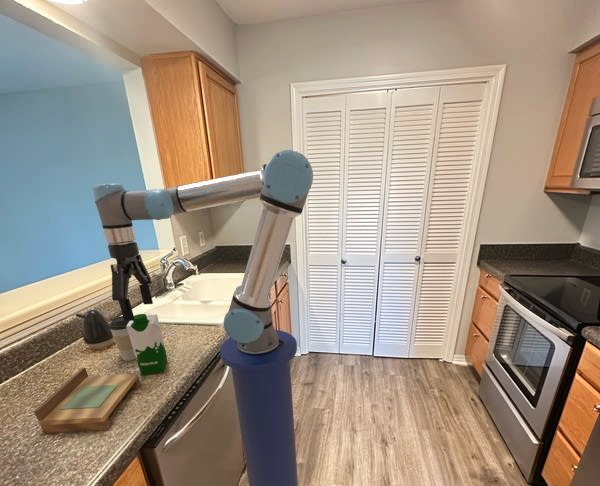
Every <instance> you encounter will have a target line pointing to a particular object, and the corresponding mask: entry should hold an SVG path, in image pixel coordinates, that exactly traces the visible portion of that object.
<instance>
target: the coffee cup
mask: <svg viewBox="0 0 600 486" xmlns="http://www.w3.org/2000/svg"><path fill="white" fill-rule="evenodd" d="M109 323H110V324H109V328H110V329H111V332H112V335H113V338H114V343H115V345H116V348H117V350H118V351H119V353H120V356H121V359H122V360H123V361H134V360H136V357H135V354H134V350H133V347H132V343H131V340H130V336H129V333H128V330H127V327H126V326H127V324H128V323H129V321H124V318H123V315H120V316H116V317H114V318H113V319H111V322H109Z"/></svg>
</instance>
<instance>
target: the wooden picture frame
mask: <svg viewBox="0 0 600 486" xmlns="http://www.w3.org/2000/svg"><path fill="white" fill-rule="evenodd" d="M140 386H141V381H140V377H139V374H138V373H120V374H101V375H99V374H98V375H89V373H88V371H87V368H86V367H81V368H80V369H78V371H77V372H76V373H74V374H73V375H72V376H71V377H69V379H68V380H66V382H64V383H63V384H62V385H61V386H60V387H59V388H58V389H56V390H55V392H53V393H52V394H51V395H50V396H48V397H47V399H45V400H44V401H43V402H42V403H41V404H40V405H39V406H38V407H36V409H34V410H33V413H34V415H35V417H36V419H37V421H38V424H39V426H40V428H41V430H42V432H43V434H52V433H53V434H54V433H55V434H56V433H71V432H72V433H75V432H90V431H91V432H93V431H107V430H108V429H109V428H110V426H111V421H110V418H109V416H110V415H111V414H112V412H113V411H114V410H115V409H116V408H117V406H118V404H119V403H120V402H121V401H122V400H123V398H124V397H125V396H126V395H127V393H128V392H129V390H130V389H138V388H139V387H140Z"/></svg>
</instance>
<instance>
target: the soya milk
mask: <svg viewBox="0 0 600 486" xmlns="http://www.w3.org/2000/svg"><path fill="white" fill-rule="evenodd" d="M134 319H135V320H134V321H129V323H128V324H127V326H126V327H127V330H128V333H129V336H130V340H131V343H132V347H133V350H134V354H135V357H136V359H135V360H136V364H137V366H138V370H139V372H140V375H141V376H142V377H143V376H149V375H150V376H151V375H156V374H157V375H158V374H164V373H165V371H166V368H167V364H168V356H167V350H166V346H165V342H164V337H163V333H162V330H161V324H160V321H159V317H158V314H157V313H156V314H155V313H154V314H146V313H139V314H135V315H134Z"/></svg>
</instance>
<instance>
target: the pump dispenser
mask: <svg viewBox="0 0 600 486" xmlns="http://www.w3.org/2000/svg"><path fill="white" fill-rule="evenodd" d="M75 317H77V318H81V319H82V324H81V325H82V326H81V331H82V338H83V342H84V343H85V344H86V345H87V346H88V347H89V348H90V349H93V350H104V349H106V348H108V347H110V346H111V345H112V344H113V343H114V342H115V340H114V338H113V335H112V332H111V329H110V328H109V324H110V323H111V322H110V321H108V319H107V318H106V316H105V315H104V314H102V312H100V311H99V310H97V309H89V310H87V311H86V312H85V313H84V314H82V313H76V314H75Z"/></svg>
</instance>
